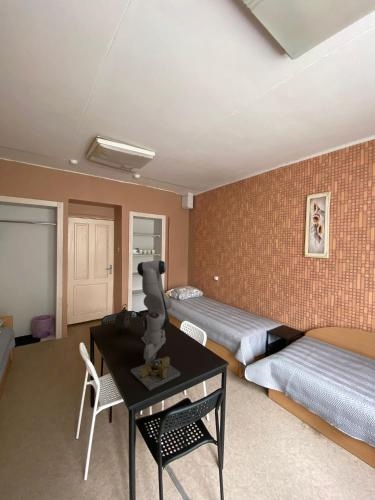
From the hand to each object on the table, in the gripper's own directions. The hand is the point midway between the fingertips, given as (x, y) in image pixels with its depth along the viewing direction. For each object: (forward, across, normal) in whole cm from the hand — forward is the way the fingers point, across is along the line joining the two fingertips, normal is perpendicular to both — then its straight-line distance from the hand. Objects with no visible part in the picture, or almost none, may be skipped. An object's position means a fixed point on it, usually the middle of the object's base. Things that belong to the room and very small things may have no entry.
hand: (153, 359), depth 140 cm
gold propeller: (+3, -6, -4) cm, 8 cm away
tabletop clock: (+6, +47, +55) cm, 73 cm away
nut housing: (+6, -6, -4) cm, 9 cm away
